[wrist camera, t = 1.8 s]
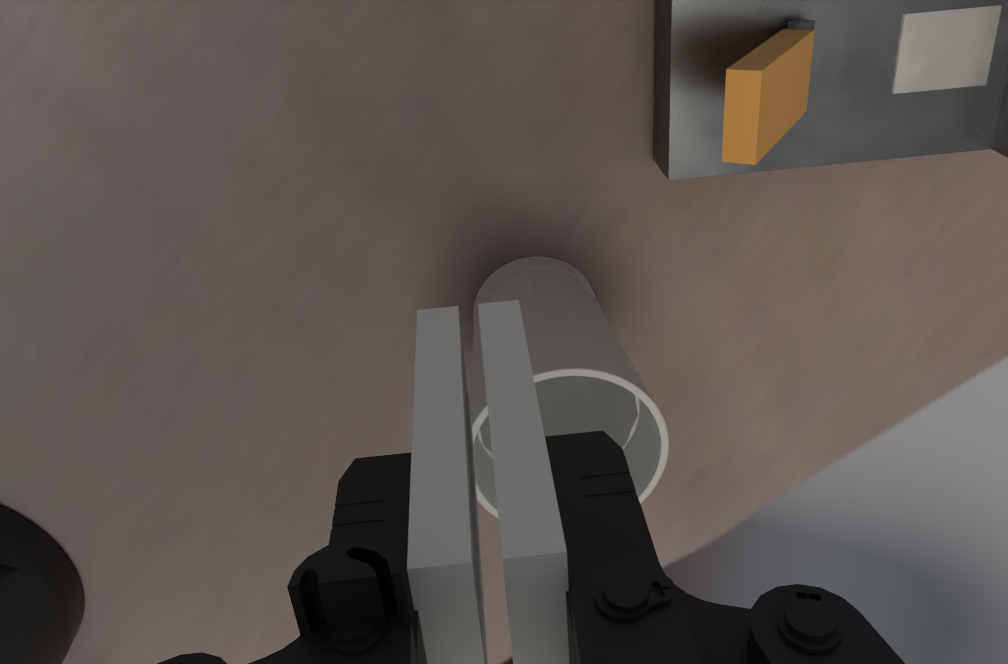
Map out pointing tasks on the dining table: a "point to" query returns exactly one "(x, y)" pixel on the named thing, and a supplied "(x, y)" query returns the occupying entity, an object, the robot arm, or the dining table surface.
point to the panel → (836, 80)
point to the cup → (568, 372)
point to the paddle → (767, 93)
